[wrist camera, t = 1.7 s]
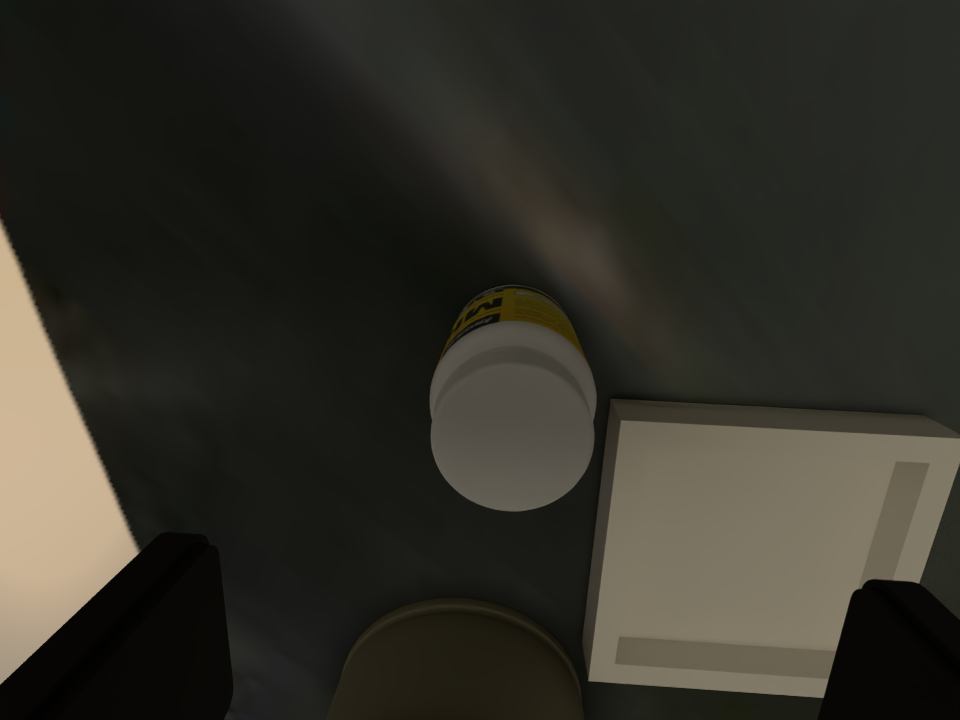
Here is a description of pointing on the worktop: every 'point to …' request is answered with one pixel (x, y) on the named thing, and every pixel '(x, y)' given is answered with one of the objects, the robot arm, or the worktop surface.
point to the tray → (752, 538)
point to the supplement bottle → (512, 402)
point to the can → (457, 667)
